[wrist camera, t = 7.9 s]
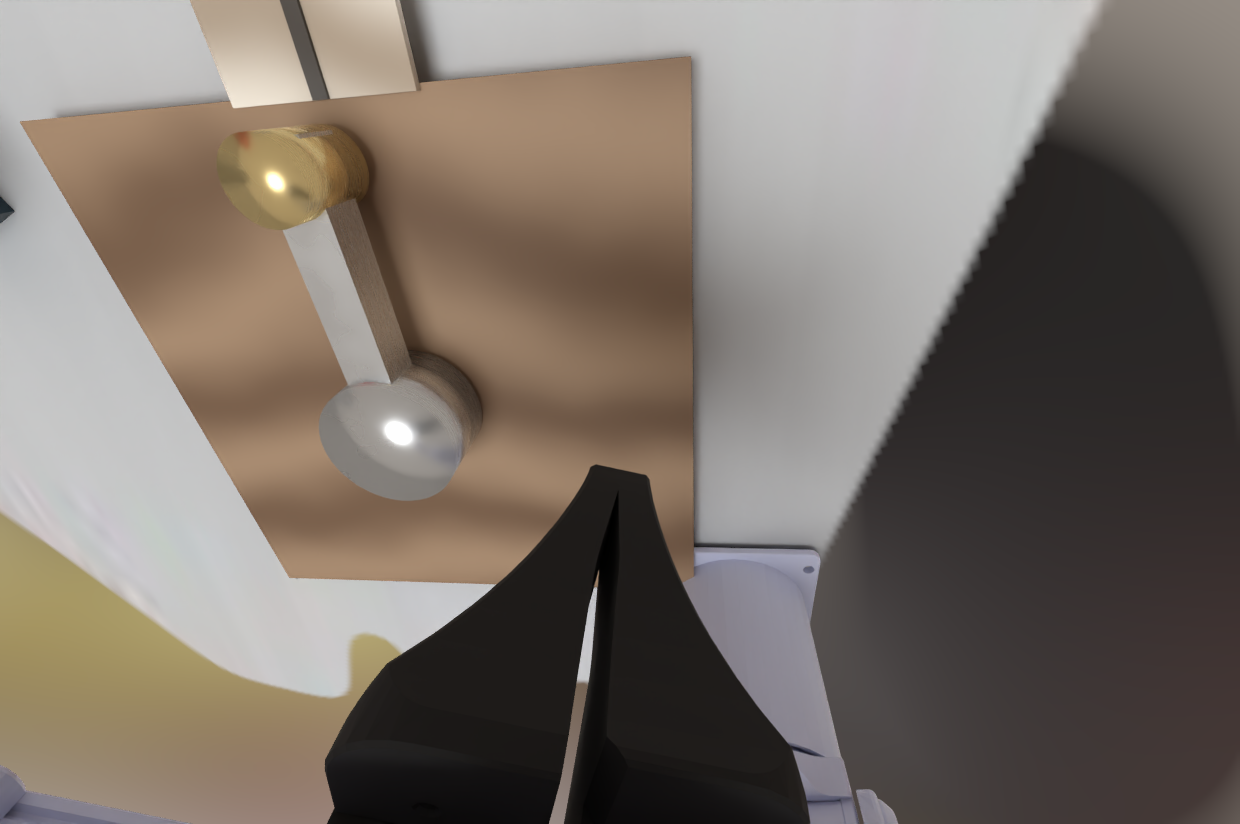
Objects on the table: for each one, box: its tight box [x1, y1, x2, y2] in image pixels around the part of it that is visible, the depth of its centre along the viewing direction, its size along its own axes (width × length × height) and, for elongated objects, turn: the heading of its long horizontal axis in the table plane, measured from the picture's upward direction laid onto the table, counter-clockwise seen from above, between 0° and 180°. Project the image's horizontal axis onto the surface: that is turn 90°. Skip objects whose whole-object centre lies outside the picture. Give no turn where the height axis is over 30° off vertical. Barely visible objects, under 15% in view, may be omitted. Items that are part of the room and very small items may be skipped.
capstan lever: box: [216, 124, 482, 501], centre depth 18 cm, size 13×5×4 cm, turn 6°
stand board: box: [20, 0, 694, 587], centre depth 21 cm, size 25×22×2 cm
